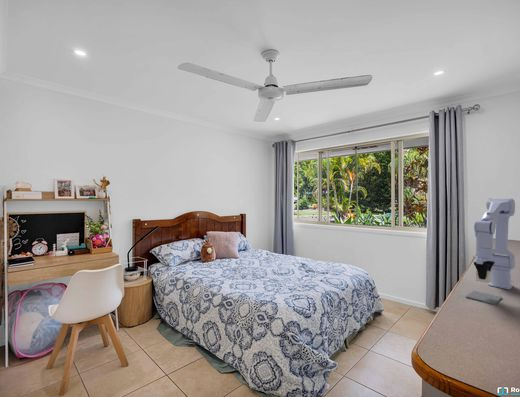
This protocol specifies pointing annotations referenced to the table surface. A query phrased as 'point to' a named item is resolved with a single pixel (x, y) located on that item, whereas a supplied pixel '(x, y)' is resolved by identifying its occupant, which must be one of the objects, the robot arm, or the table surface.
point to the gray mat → (484, 297)
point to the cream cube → (488, 277)
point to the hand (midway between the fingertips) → (483, 277)
